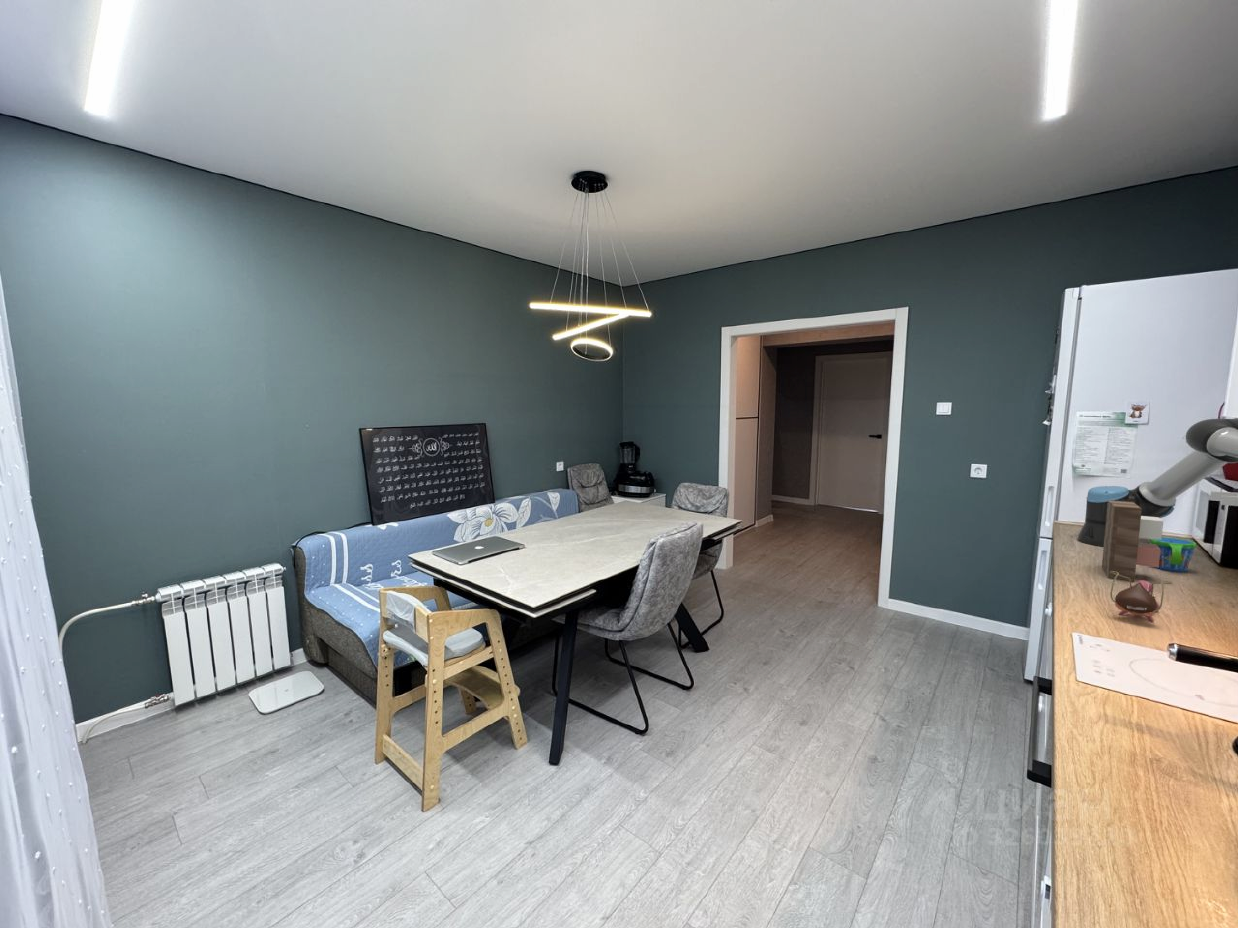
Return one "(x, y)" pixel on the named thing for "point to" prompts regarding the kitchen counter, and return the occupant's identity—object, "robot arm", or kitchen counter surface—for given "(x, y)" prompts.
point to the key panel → (1121, 539)
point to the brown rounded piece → (1138, 598)
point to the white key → (1151, 527)
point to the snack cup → (1174, 553)
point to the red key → (1148, 555)
